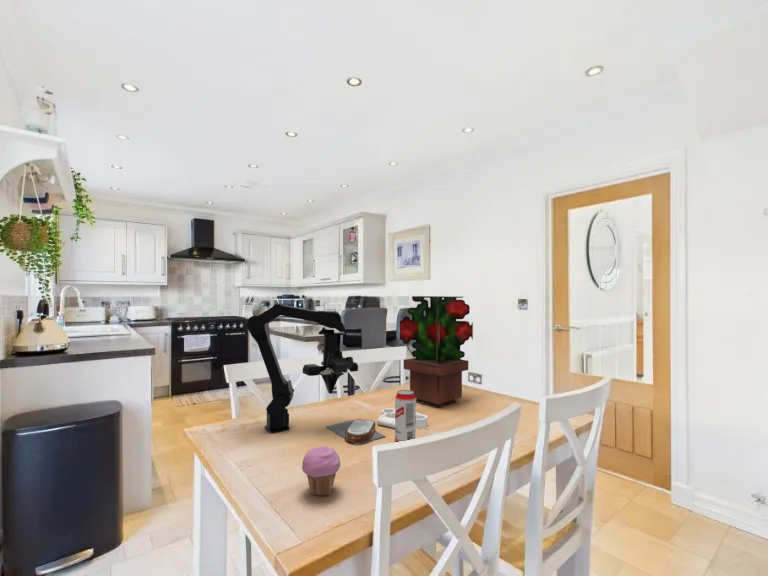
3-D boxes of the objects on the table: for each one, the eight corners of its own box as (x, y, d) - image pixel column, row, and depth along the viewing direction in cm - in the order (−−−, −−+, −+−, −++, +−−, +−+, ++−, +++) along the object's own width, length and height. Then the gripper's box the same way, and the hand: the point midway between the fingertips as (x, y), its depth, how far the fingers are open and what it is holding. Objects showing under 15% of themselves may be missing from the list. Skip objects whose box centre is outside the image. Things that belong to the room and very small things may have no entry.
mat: (356, 445, 113) (356, 443, 113) (326, 427, 128) (326, 426, 128) (385, 437, 119) (385, 435, 119) (353, 421, 134) (353, 419, 134)
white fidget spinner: (369, 424, 132) (391, 414, 144) (414, 435, 122) (433, 423, 134) (369, 415, 132) (391, 405, 144) (414, 425, 122) (433, 413, 134)
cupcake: (339, 501, 82) (339, 455, 82) (299, 503, 81) (299, 456, 81) (340, 481, 91) (341, 439, 91) (304, 482, 90) (305, 440, 90)
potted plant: (432, 392, 176) (433, 296, 177) (472, 402, 159) (472, 296, 160) (399, 400, 161) (399, 296, 162) (439, 412, 144) (440, 296, 145)
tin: (341, 442, 114) (368, 446, 113) (342, 431, 114) (369, 435, 113) (353, 425, 129) (377, 428, 127) (353, 416, 129) (377, 419, 127)
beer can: (401, 450, 109) (401, 395, 109) (391, 443, 114) (391, 390, 115) (419, 447, 112) (419, 393, 112) (408, 439, 117) (408, 388, 118)
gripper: (317, 352, 116) (315, 402, 116) (367, 349, 127) (365, 395, 127) (302, 347, 126) (300, 394, 125) (350, 345, 136) (349, 388, 136)
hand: (330, 393), depth 128 cm, fingers closed
